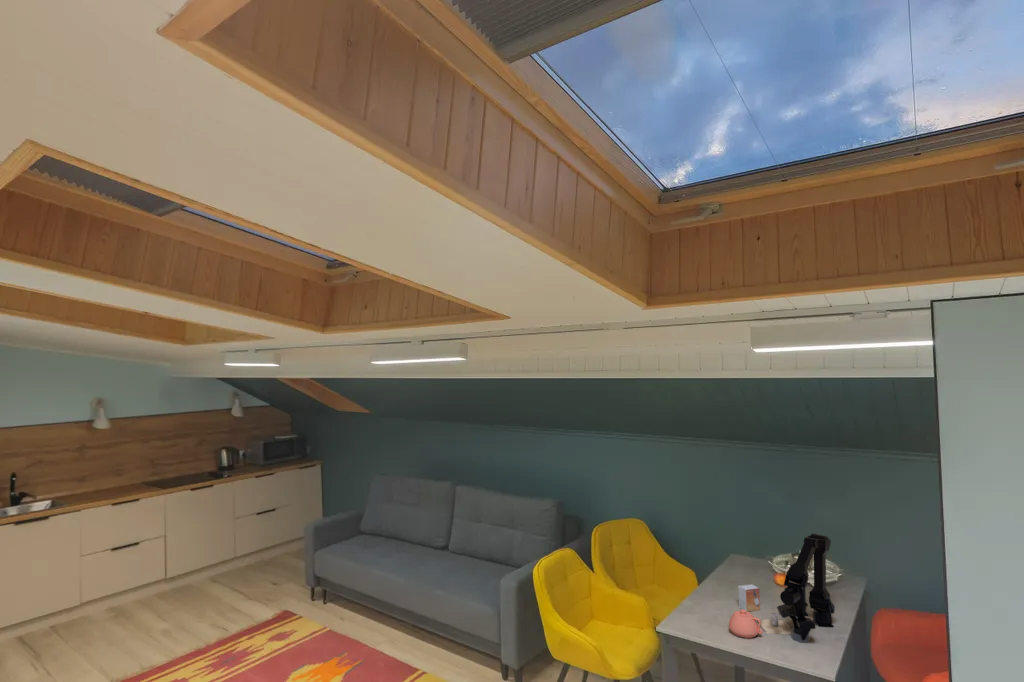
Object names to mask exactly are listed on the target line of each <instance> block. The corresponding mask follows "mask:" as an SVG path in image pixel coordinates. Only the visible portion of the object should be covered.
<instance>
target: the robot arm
mask: <svg viewBox="0 0 1024 682" xmlns="http://www.w3.org/2000/svg"><path fill="white" fill-rule="evenodd" d="M831 543H832V541H831V539H830V538H829V537H828V536H827V535H823V534H817V533H811V534H810V535H806V536H805V537H804V539H803V545H802V547H801V550H800V552H799V554H798V557H797V559H796V562H794V563H792V564H791V565H790V566H789V568H788V570H787V571H786V574H785V578H784V583H783V585H784V587H785V586H786V587H785V588H784V590H783V591H781V593H780V595H779V598H780V600H781V602H782V604H781V605H777V606H776V608H777V611H778V613H779V614H778V615H780V617H781V618H783V619H785V618H790V619H791V622H792V626H793V628H800V633H801V638H802V640H805V639H806V637H807V635H808V633H809V634H810V632H811V630H815V629H816V625H817V626H818V627H823V628H824V627H826V628H827V627H828V628H829V627H830V628H833V627H834V625H833V621H832V619H833V617H832V614H835V610H836V609H835V605H834V603H833V601H832V600H831V594H830V593H829V591H828V589H827V579H826V578H827V576H826V575H827V574H826V573H827V571H826V570H827V565H826V564H827V563H826V555H827V554H828V552H829V551H830V549H831V548H830V547H831ZM812 559H813V587H812V589H810V591H808V592H809V593H808V594H809V596H808V601H809V605H808V603H807V597H806V596H807V595H806V588H807V586H808V585H807V584H808V582H809V572H808V569H809V567H810V564H811V562H812ZM807 607H810V609H812V610H813V611H812V618H813V619H811V618H810V617H809V613H808V611H807Z"/></svg>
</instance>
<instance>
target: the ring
mask: <svg viewBox="0 0 1024 682" xmlns="http://www.w3.org/2000/svg"><path fill="white" fill-rule="evenodd" d="M791 629H792V630H791V634H790V638H791V639H792V640H793V641H795V642H798V643H803V644H804V643H805V644H806V643H808V642H810V632H809V633H808V635H807V637H806V639H805V640H802V638H801V633H800V628H794V627H793V628H791Z"/></svg>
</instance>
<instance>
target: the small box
mask: <svg viewBox="0 0 1024 682" xmlns="http://www.w3.org/2000/svg"><path fill="white" fill-rule="evenodd" d="M737 587H738V590H737V591H738V608H740V610H741V609H743V610H746V611H747V612H754V611H755V612H756V611H760V610H761V607H760V606H761V602H760V601H761V599H760V588H759V586H758V587H757V586H756V585H754V584H752V583H751V584H744V585H738V586H737Z"/></svg>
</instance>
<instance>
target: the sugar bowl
mask: <svg viewBox="0 0 1024 682" xmlns="http://www.w3.org/2000/svg"><path fill="white" fill-rule="evenodd" d="M760 619H761V618H759V617H755V616H754V615H753V614H752V613H751V612H750V611H748V612H747V611H746V610H743V609H741V608H740V610H736V611H734V612H733V613H732V615H730V618H729V621H728V629H729V630H730V631H731V633H733V635H734V636H737V637H740V638H746V639H749V640H750V639H751V638H754V637H757V635H758V634H759V635H762V634H763V633H764V631H763V629H762V628H761V627H760V626H761V621H760ZM757 620H758V621H759V624H758V623H757Z"/></svg>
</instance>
